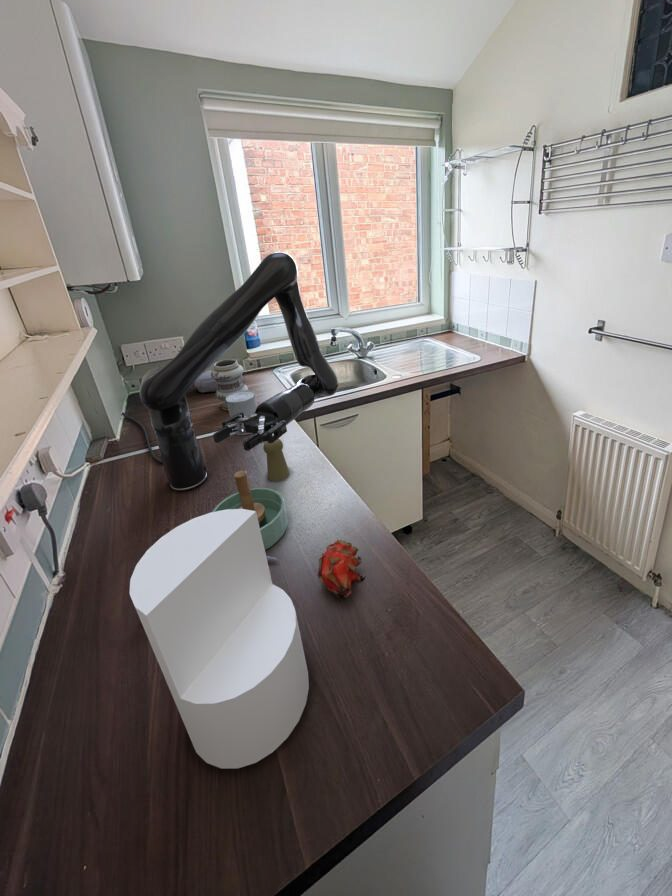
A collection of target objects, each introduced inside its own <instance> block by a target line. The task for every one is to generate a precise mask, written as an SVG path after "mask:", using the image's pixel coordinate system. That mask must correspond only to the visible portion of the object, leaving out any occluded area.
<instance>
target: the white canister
mask: <svg viewBox="0 0 672 896" xmlns="http://www.w3.org/2000/svg"><path fill="white" fill-rule="evenodd" d="M226 402H227V406H228V410H227V411H228V415H229V418H230V417H232V416H234V415H236V414H237V413H239V412H244V416H248V415H251V414H254V413H255V411H256V408H257V407H258V402H257V397H256V393H255V391H253V390H248V391H238V392H235V393H232V394H230V395H228V396H227V397H226ZM236 429H237V427H236V428H234V429H232V430H236ZM241 429H245V428H244V423H243V425H241ZM251 434H252V433H245V434H241V435H240V434H239V433H237V434H236V436H237V435H238V436H245V435H251Z"/></svg>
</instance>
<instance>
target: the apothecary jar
mask: <svg viewBox="0 0 672 896" xmlns="http://www.w3.org/2000/svg"><path fill="white" fill-rule="evenodd" d="M212 370H213V371H212V372H211V376H212V378H213V379H215V380H216V383H217V388H218V389H217V391H216V392H215V397H216V399H217V400H218V401H221V402H223V403H222V405H221V410H224V411H229V410H228V406H227V402H226V397H227V396H228V395H230V394H232V393H235V392H238V391H249V387H248V386H247V385H246V384H245V383H244V381H243V380H242V378H243V374H244V372H245V370H244V367H243V365H241V364H239V363H238V360H237V359H235V358H227V359H226V358H225V359H222V360H217V361H216V362H215V363H213V369H212Z"/></svg>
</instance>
